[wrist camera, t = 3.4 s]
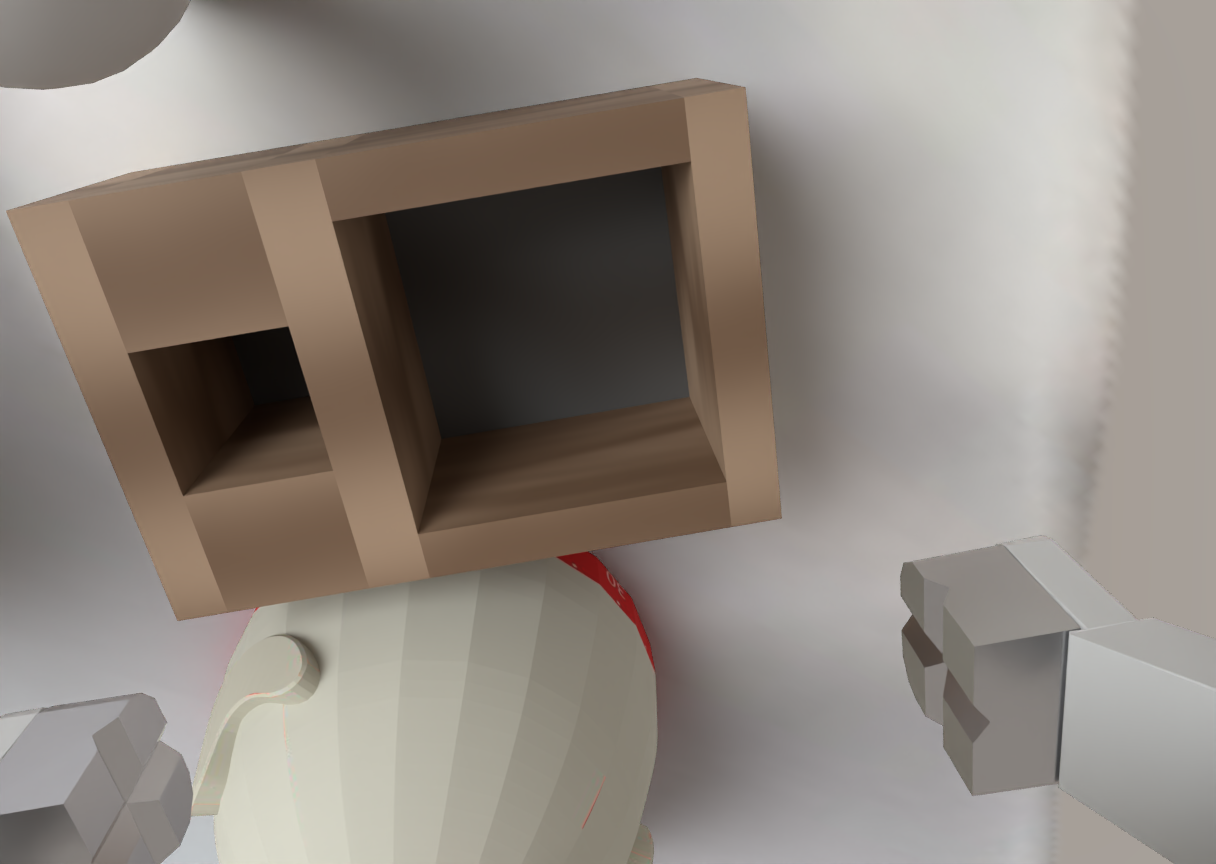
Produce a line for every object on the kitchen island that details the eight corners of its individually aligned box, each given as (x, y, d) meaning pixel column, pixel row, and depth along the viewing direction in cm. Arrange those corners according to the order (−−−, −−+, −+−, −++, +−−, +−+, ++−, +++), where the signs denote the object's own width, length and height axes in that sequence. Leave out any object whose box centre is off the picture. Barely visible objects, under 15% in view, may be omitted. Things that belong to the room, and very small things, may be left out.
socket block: (131, 172, 23) (5, 210, 18) (696, 78, 23) (745, 87, 18) (250, 505, 27) (177, 621, 22) (732, 424, 27) (781, 518, 22)
